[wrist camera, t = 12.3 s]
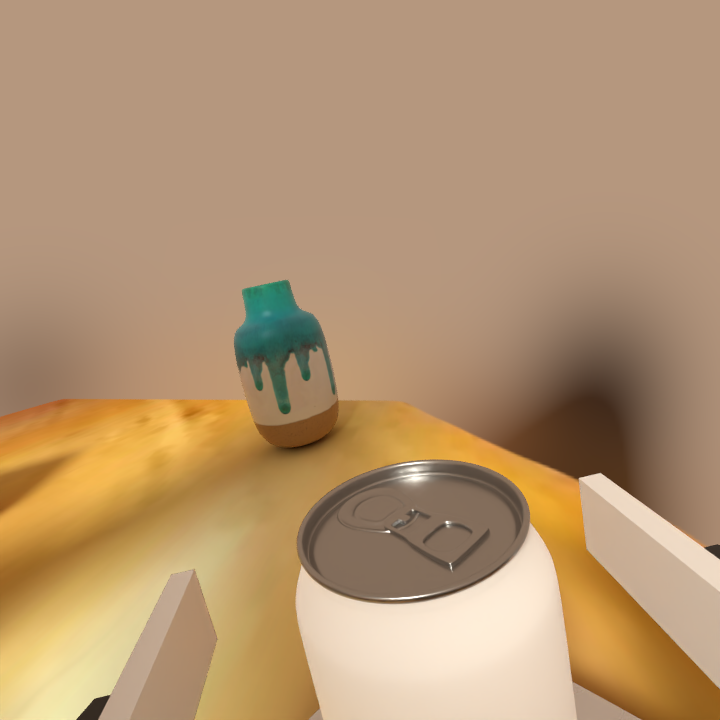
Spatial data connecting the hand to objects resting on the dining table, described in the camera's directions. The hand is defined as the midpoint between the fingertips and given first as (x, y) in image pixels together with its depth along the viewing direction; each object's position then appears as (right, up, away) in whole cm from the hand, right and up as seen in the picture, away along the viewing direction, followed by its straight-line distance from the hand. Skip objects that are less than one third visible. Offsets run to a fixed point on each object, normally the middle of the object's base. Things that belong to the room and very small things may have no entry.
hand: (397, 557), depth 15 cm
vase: (-8, -3, +39) cm, 40 cm away
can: (+2, -9, -1) cm, 9 cm away
